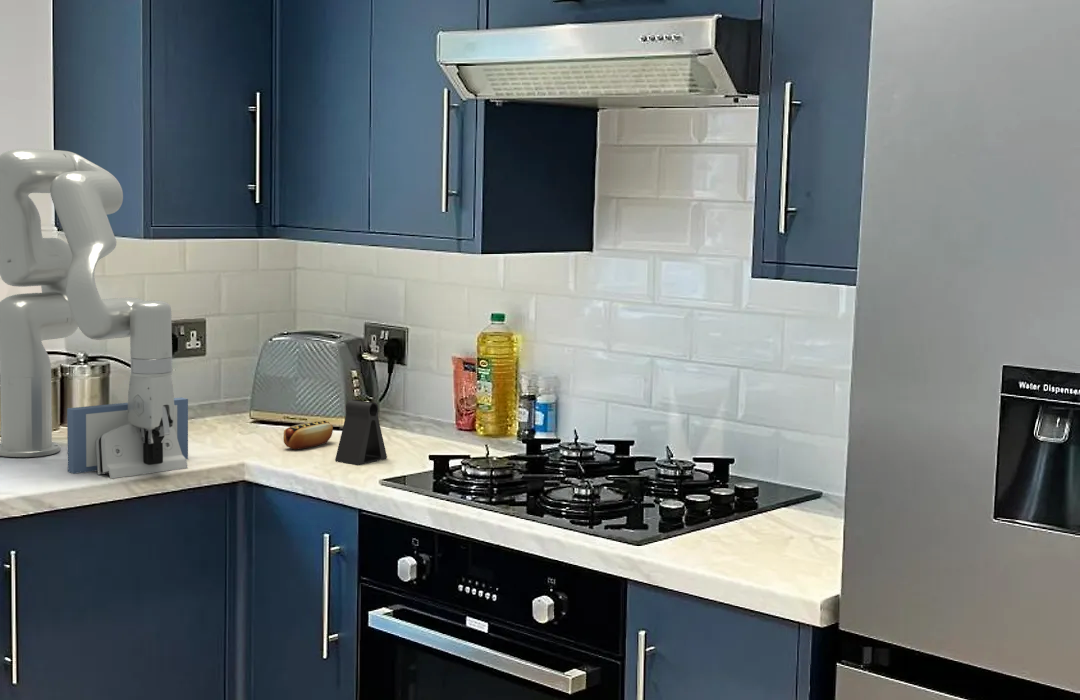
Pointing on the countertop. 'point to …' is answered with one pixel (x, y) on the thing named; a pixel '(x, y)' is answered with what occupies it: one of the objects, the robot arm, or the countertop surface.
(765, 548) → the countertop surface
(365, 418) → the dark grey a-frame stand
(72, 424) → the cabinet side
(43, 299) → the robot arm
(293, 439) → the hot dog
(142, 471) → the hinge
